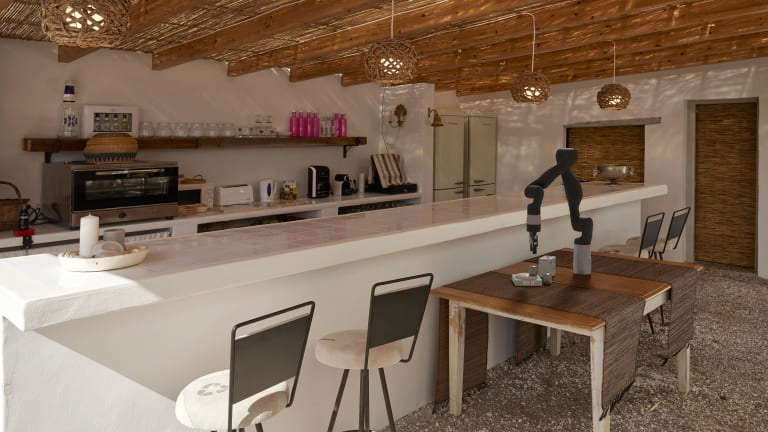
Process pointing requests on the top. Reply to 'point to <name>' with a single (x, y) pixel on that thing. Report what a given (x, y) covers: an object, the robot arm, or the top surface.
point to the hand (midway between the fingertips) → (533, 252)
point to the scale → (526, 280)
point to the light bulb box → (547, 265)
